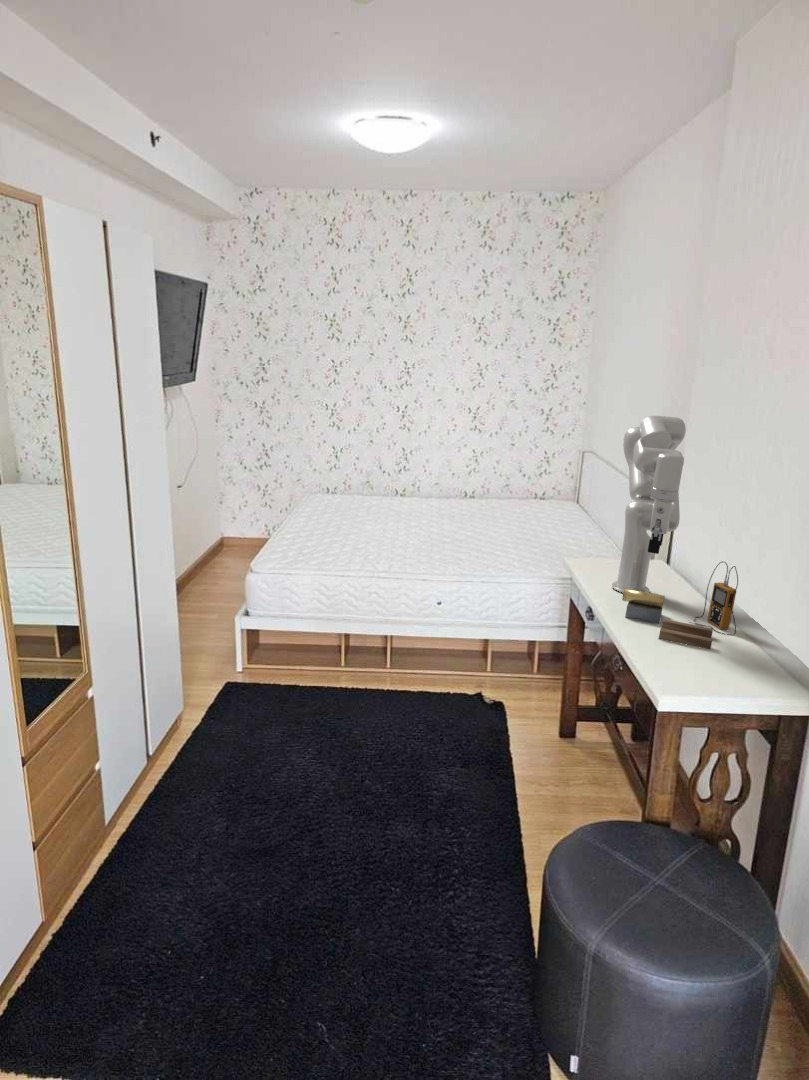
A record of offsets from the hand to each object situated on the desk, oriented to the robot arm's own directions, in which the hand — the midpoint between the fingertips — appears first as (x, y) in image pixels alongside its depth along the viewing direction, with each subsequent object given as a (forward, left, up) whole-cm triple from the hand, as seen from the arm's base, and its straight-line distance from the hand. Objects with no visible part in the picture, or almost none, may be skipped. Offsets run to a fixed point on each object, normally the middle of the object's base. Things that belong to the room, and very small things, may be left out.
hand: (654, 548), depth 222 cm
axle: (+1, -1, -16) cm, 16 cm away
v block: (+1, 0, -22) cm, 22 cm away
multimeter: (-2, +19, -22) cm, 29 cm away
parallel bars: (+13, +13, -22) cm, 28 cm away
